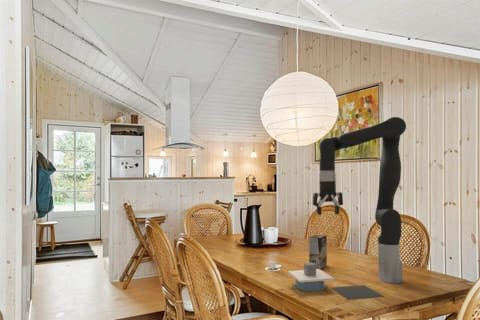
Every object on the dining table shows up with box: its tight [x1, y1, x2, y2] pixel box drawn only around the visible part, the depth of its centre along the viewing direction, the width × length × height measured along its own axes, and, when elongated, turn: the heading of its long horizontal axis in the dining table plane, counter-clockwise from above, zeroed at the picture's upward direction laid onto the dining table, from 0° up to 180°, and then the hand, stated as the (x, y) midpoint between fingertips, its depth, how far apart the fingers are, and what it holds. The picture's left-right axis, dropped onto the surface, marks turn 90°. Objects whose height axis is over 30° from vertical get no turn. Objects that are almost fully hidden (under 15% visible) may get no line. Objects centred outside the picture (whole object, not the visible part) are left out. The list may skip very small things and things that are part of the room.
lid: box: [287, 262, 335, 282], centre depth 163 cm, size 15×15×5 cm
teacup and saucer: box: [264, 260, 282, 272], centre depth 195 cm, size 9×8×4 cm
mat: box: [330, 284, 386, 301], centre depth 155 cm, size 16×16×1 cm
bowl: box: [295, 279, 326, 292], centre depth 163 cm, size 12×12×5 cm
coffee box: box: [308, 234, 328, 270], centre depth 199 cm, size 9×6×16 cm
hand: (328, 214), depth 177 cm, fingers open, 8 cm apart
